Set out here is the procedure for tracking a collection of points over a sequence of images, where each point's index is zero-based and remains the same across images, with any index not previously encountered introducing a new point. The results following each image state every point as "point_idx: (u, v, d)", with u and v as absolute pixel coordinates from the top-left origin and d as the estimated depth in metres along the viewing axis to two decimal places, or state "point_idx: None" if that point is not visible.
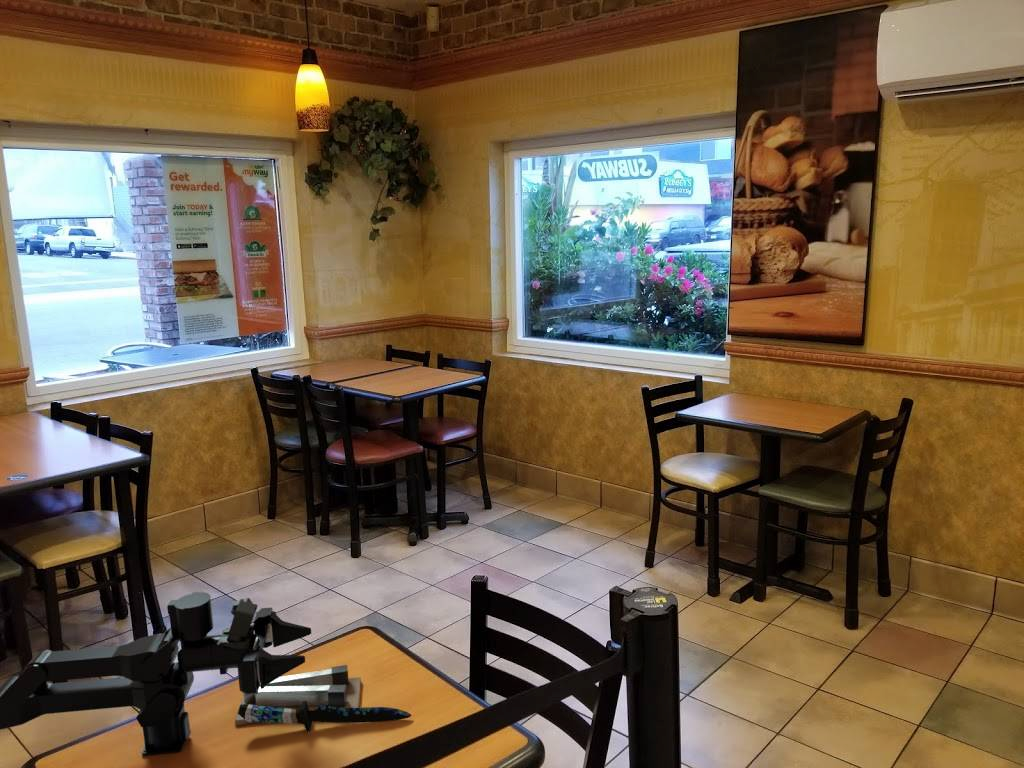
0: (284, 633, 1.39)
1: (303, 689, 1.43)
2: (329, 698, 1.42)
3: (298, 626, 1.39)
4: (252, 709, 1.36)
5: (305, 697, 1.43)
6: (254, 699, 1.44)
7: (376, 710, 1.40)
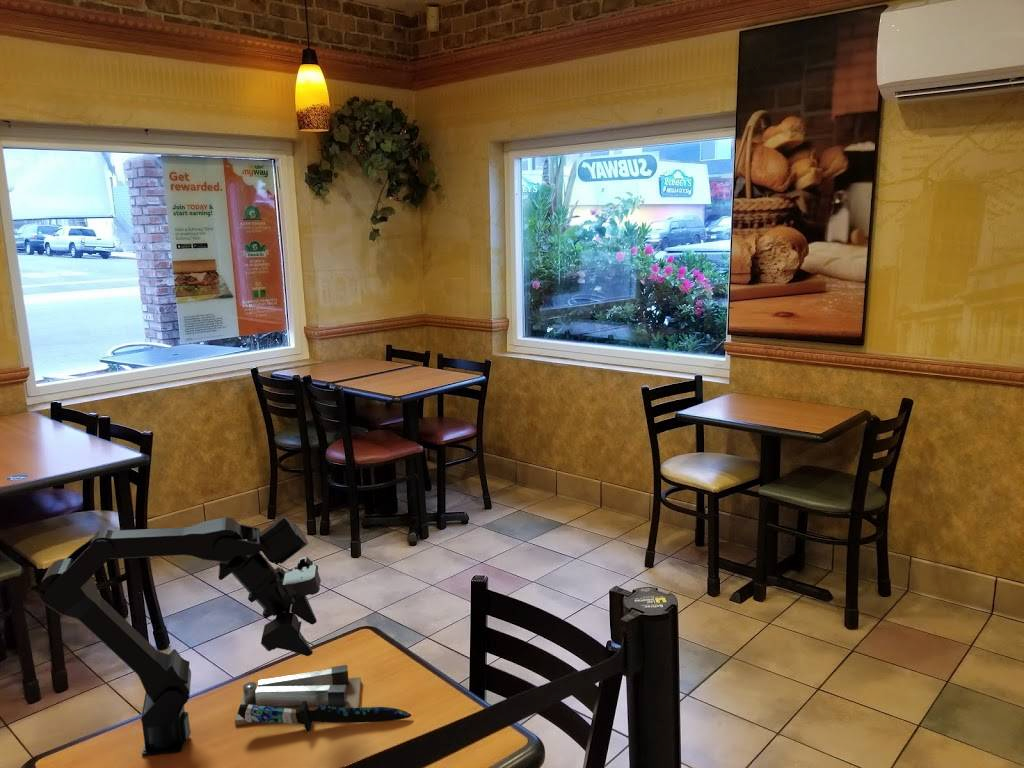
0: (298, 605, 1.44)
1: (303, 689, 1.43)
2: (329, 698, 1.42)
3: (312, 611, 1.45)
4: (252, 709, 1.36)
5: (305, 697, 1.43)
6: (254, 699, 1.44)
7: (376, 710, 1.40)
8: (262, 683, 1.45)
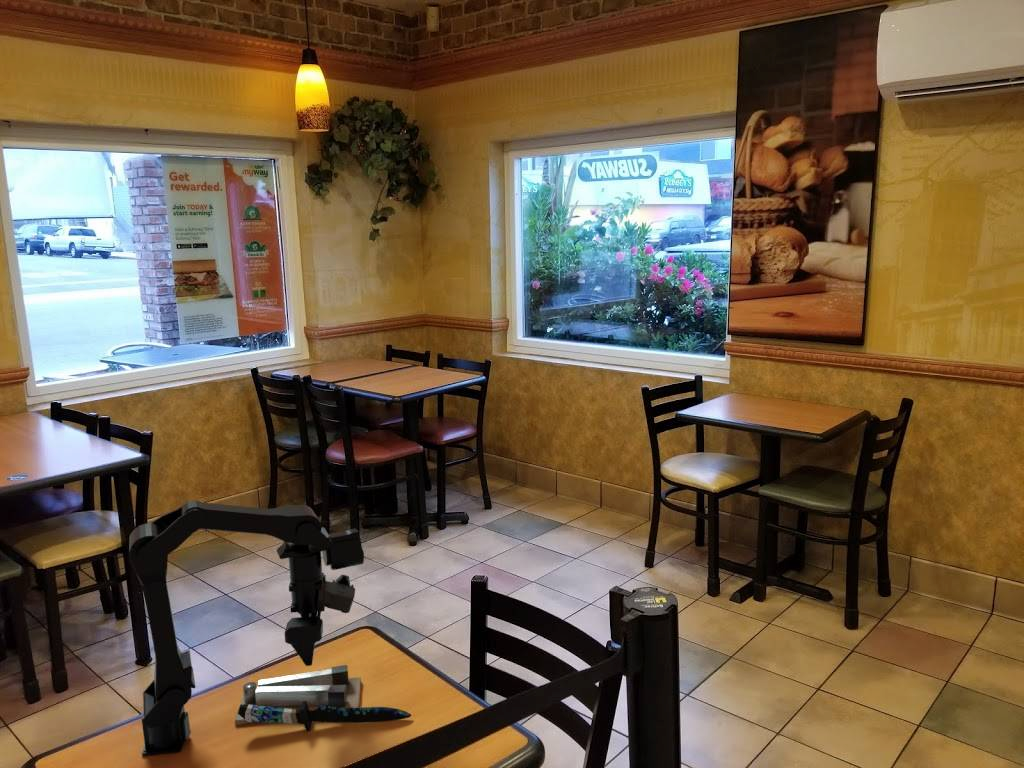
0: None
1: (303, 689, 1.43)
2: (329, 698, 1.42)
3: None
4: (252, 709, 1.36)
5: (305, 697, 1.43)
6: (254, 699, 1.44)
7: (376, 709, 1.40)
8: (262, 683, 1.45)
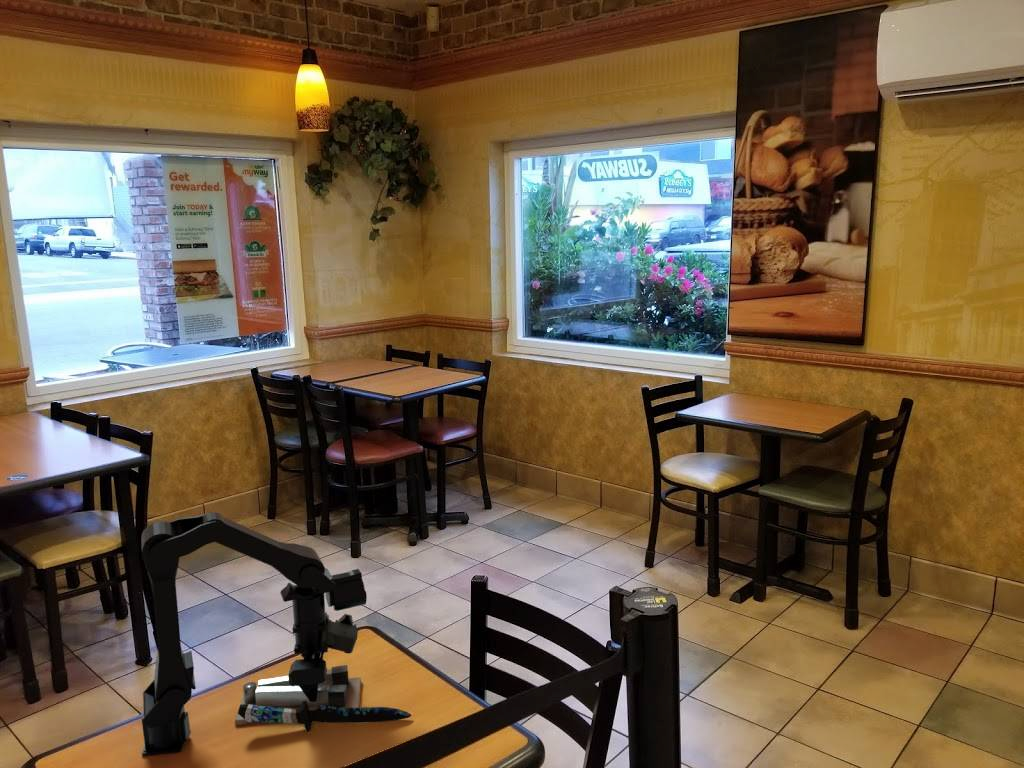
0: (314, 657, 1.48)
1: None
2: (329, 698, 1.42)
3: None
4: (252, 709, 1.36)
5: (305, 697, 1.43)
6: (254, 699, 1.44)
7: (376, 710, 1.40)
8: (262, 683, 1.45)
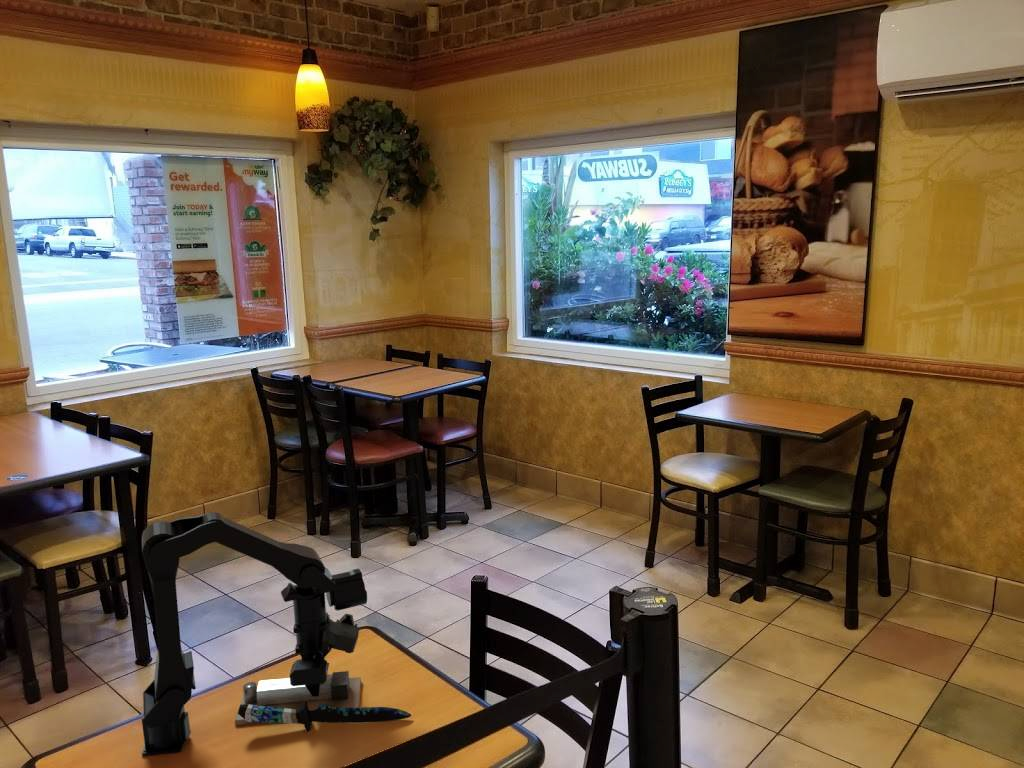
0: None
1: None
2: (332, 691, 1.44)
3: None
4: (252, 709, 1.36)
5: (308, 692, 1.44)
6: (254, 699, 1.44)
7: (376, 710, 1.40)
8: (262, 684, 1.45)
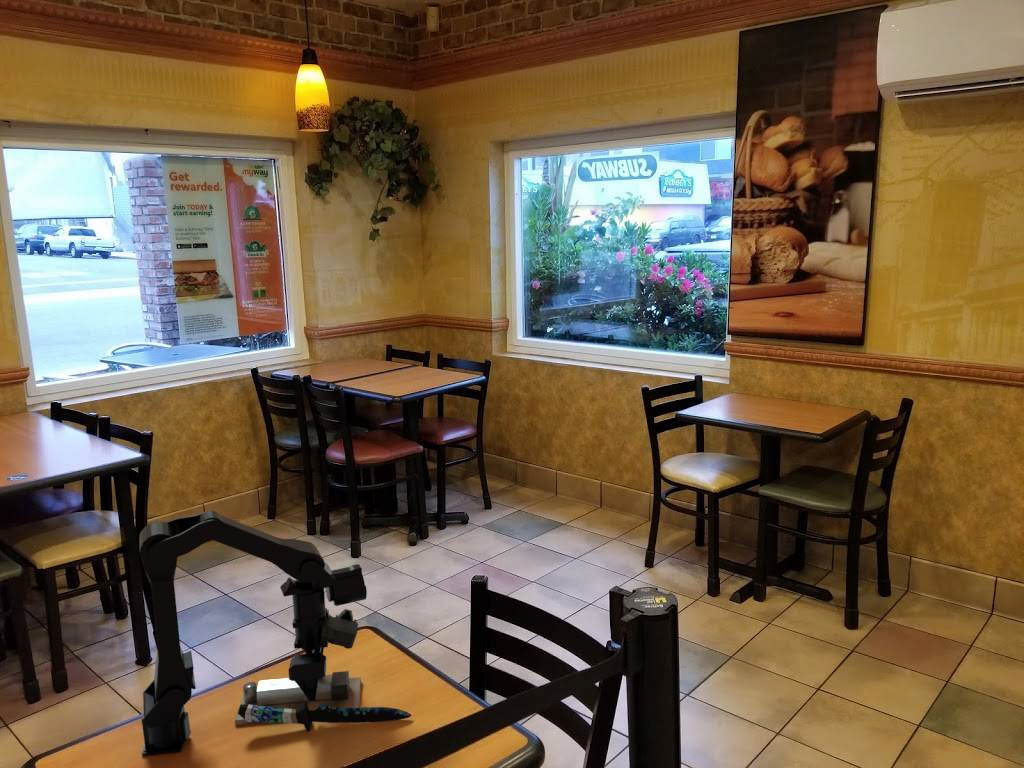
0: (315, 649, 1.49)
1: None
2: (332, 692, 1.44)
3: None
4: (252, 709, 1.36)
5: None
6: (254, 699, 1.44)
7: (376, 710, 1.40)
8: (262, 684, 1.45)
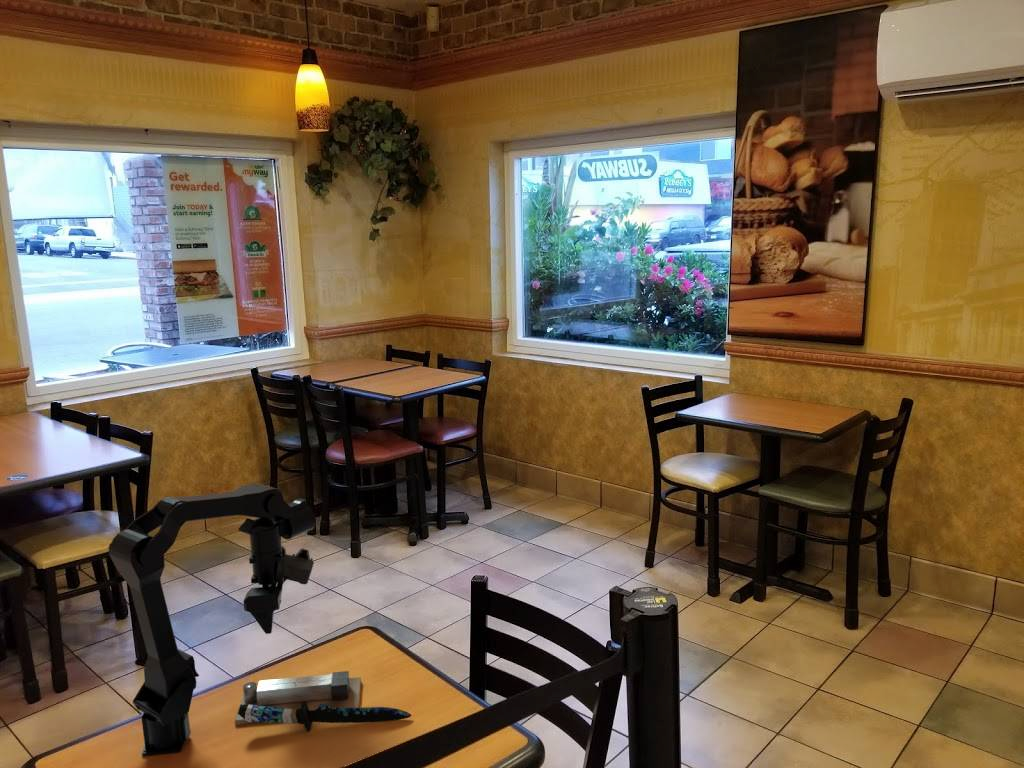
0: None
1: (305, 685, 1.44)
2: (332, 692, 1.44)
3: None
4: (252, 709, 1.36)
5: (307, 692, 1.44)
6: (254, 699, 1.44)
7: (376, 710, 1.40)
8: (262, 684, 1.45)
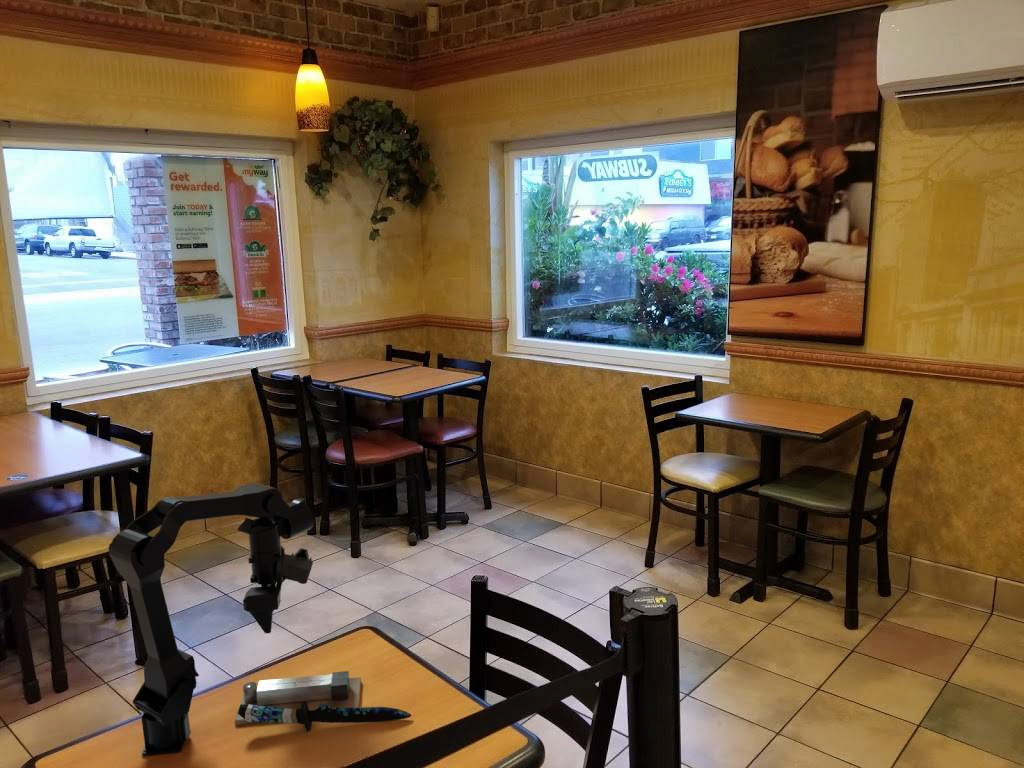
0: None
1: (305, 685, 1.44)
2: (332, 692, 1.44)
3: None
4: (252, 709, 1.36)
5: (307, 692, 1.44)
6: (254, 699, 1.44)
7: (376, 709, 1.40)
8: (262, 684, 1.45)
